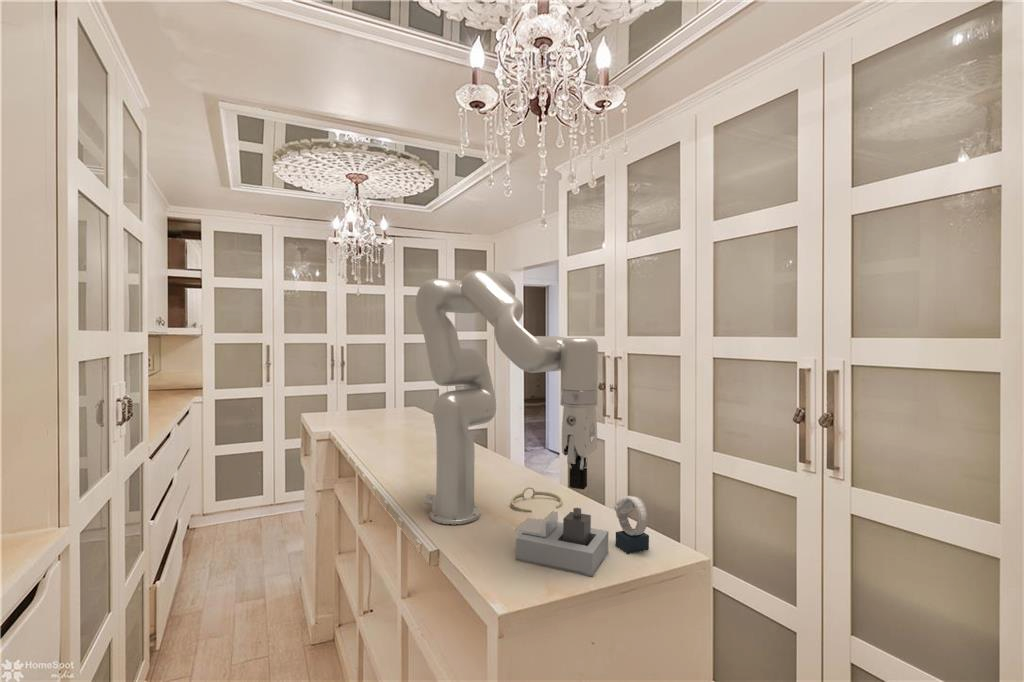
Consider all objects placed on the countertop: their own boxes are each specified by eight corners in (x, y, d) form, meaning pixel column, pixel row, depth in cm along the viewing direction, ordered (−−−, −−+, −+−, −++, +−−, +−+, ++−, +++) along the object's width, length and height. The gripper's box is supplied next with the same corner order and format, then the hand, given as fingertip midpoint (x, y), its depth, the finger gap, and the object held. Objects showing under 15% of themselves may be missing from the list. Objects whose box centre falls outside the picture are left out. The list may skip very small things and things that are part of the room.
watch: (630, 538, 114) (631, 490, 114) (654, 553, 107) (654, 501, 106) (610, 542, 112) (610, 493, 111) (632, 557, 104) (633, 504, 104)
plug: (563, 558, 102) (563, 510, 102) (570, 550, 106) (570, 504, 106) (583, 563, 100) (584, 514, 100) (590, 554, 104) (590, 507, 104)
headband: (519, 506, 128) (504, 490, 137) (518, 520, 129) (503, 503, 138) (569, 499, 134) (551, 483, 143) (568, 512, 135) (550, 496, 144)
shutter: (514, 531, 105) (514, 517, 105) (527, 520, 112) (528, 506, 112) (545, 537, 102) (546, 522, 102) (557, 525, 109) (557, 511, 109)
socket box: (516, 560, 103) (516, 538, 103) (538, 538, 114) (538, 518, 113) (592, 576, 96) (592, 553, 96) (608, 552, 107) (608, 531, 107)
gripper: (586, 403, 94) (585, 501, 95) (606, 395, 108) (605, 480, 108) (548, 401, 98) (547, 495, 98) (572, 393, 111) (572, 476, 111)
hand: (578, 487), depth 103 cm, fingers closed
